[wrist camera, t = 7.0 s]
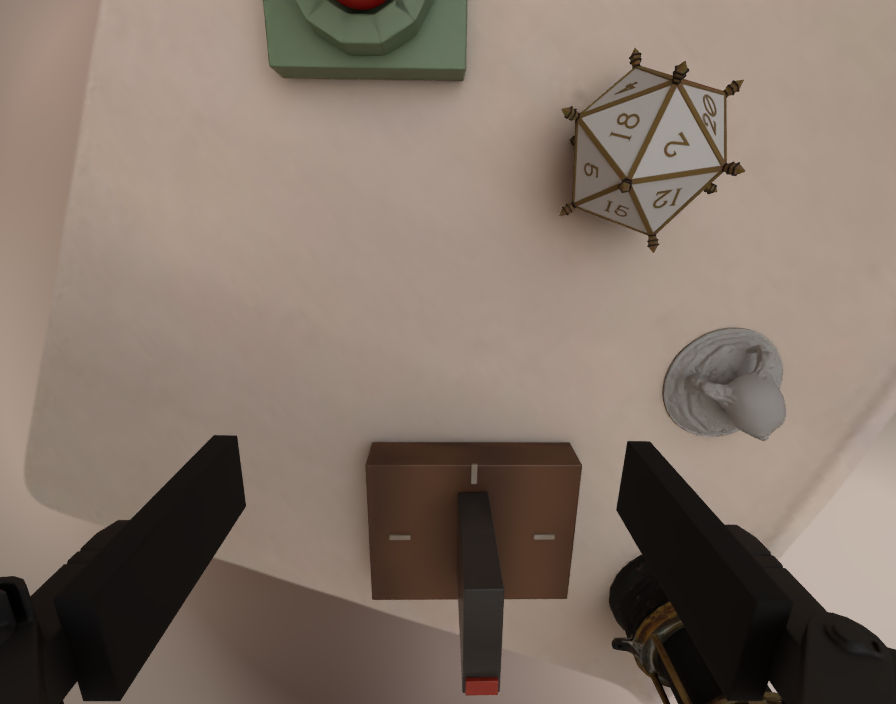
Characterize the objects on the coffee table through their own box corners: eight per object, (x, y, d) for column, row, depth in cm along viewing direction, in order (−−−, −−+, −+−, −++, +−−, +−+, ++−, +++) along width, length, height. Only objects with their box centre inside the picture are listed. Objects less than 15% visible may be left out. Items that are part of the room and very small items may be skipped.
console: (377, 569, 36) (371, 603, 32) (371, 440, 32) (364, 464, 29) (557, 568, 36) (567, 602, 33) (570, 440, 32) (583, 464, 29)
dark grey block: (457, 492, 30) (463, 593, 22) (488, 492, 30) (505, 593, 22) (457, 577, 32) (462, 698, 24) (485, 577, 32) (500, 697, 24)
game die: (581, 138, 30) (626, -35, 20) (712, 183, 28) (828, 16, 19) (521, 244, 28) (539, 105, 18) (659, 302, 26) (760, 181, 16)
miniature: (687, 453, 33) (727, 493, 28) (645, 364, 31) (681, 392, 26) (795, 401, 32) (855, 434, 27) (760, 306, 30) (818, 324, 25)
